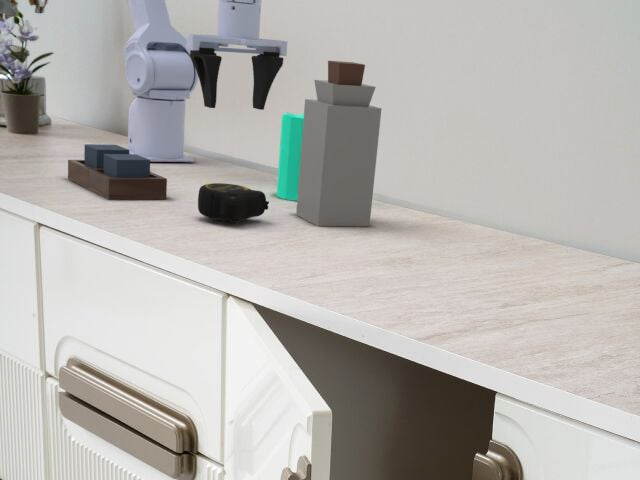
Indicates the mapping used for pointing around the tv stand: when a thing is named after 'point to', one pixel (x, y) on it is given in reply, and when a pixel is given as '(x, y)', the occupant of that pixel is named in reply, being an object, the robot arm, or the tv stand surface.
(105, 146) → the slate blue cube
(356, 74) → the perfume bottle
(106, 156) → the dark blue cube
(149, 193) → the holder
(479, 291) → the tv stand surface
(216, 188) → the tape measure
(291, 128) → the candle
